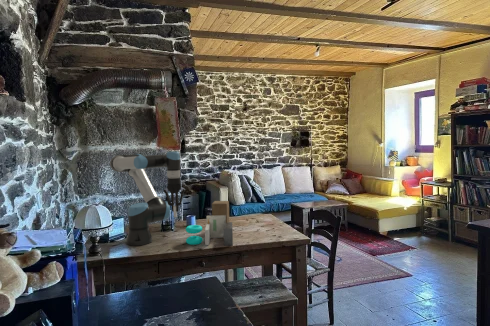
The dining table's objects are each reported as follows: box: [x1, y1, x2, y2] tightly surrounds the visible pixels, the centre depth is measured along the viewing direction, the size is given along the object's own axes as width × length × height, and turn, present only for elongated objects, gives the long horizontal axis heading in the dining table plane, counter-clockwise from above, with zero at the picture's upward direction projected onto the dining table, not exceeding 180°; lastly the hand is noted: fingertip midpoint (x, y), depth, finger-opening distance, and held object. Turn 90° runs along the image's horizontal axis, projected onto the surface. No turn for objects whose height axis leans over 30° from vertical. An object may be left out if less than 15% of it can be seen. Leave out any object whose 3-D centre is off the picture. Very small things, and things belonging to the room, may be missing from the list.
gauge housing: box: [206, 215, 234, 247], centre depth 210 cm, size 16×18×14 cm
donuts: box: [185, 224, 203, 246], centre depth 208 cm, size 10×10×10 cm
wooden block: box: [211, 200, 230, 222], centre depth 231 cm, size 10×10×20 cm
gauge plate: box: [204, 219, 211, 246], centre depth 209 cm, size 2×15×12 cm, turn 2°
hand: (175, 216), depth 206 cm, fingers closed
